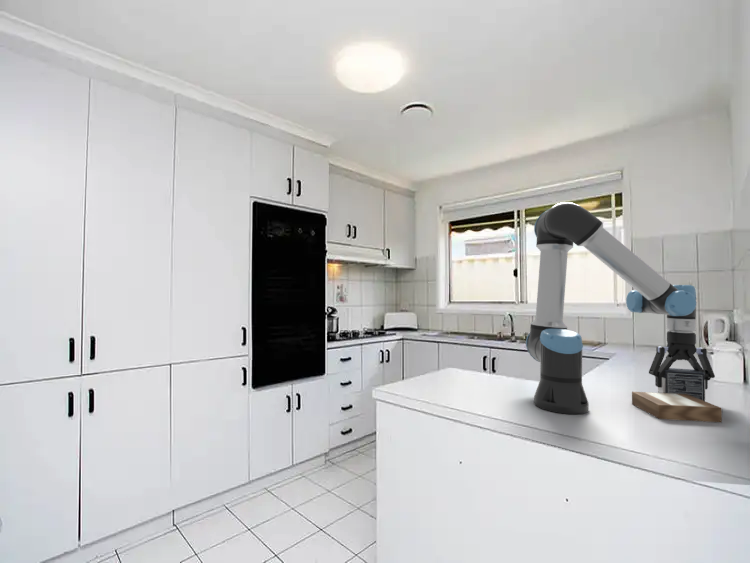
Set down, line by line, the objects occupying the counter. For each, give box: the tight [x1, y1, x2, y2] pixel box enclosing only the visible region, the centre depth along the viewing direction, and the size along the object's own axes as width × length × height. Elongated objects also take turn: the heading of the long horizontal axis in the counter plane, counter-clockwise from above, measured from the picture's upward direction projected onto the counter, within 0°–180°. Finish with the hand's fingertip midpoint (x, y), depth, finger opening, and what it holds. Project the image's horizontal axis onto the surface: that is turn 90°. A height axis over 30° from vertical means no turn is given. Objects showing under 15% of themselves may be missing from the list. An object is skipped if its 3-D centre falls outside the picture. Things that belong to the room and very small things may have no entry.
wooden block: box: [631, 391, 723, 423], centre depth 113 cm, size 16×14×4 cm
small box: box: [663, 367, 706, 402], centre depth 125 cm, size 11×6×10 cm, turn 71°
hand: (681, 398), depth 125 cm, fingers closed on small box, 11 cm apart
